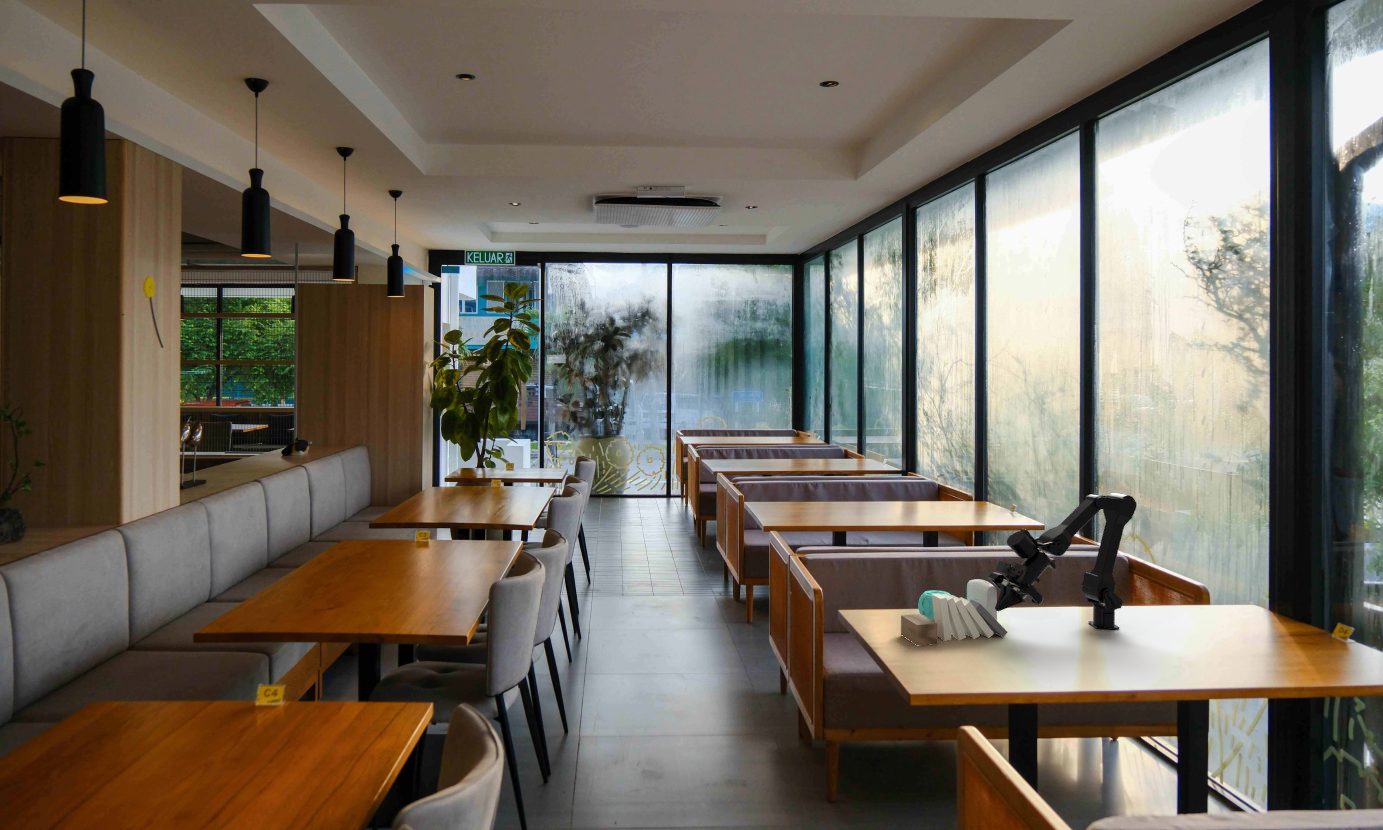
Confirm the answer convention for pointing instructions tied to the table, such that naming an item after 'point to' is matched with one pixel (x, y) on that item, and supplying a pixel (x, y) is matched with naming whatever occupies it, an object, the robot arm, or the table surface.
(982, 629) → the ivory domino
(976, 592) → the white rounded block
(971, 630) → the ivory domino
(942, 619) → the ivory domino
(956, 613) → the ivory domino
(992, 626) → the charcoal domino
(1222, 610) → the table surface
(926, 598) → the decorative dice
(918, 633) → the walnut end block
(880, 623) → the table surface
